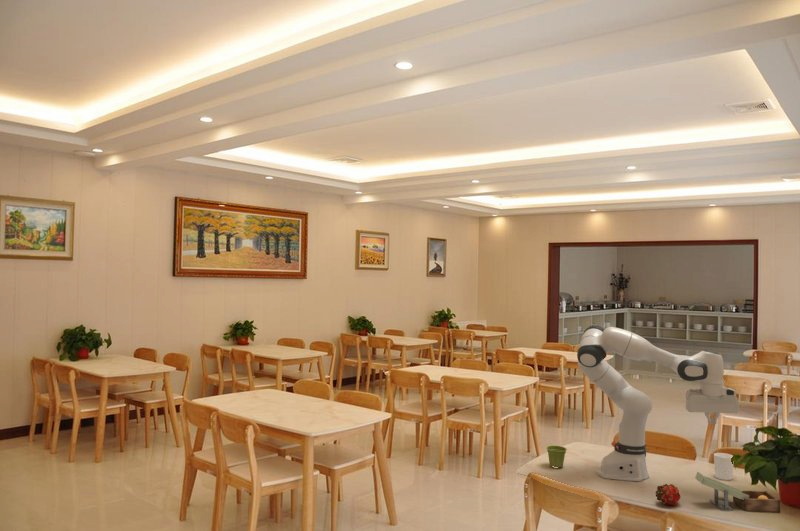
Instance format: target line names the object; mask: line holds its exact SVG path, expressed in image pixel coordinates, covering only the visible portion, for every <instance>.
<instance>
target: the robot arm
mask: <svg viewBox="0 0 800 531" xmlns="http://www.w3.org/2000/svg"><path fill="white" fill-rule="evenodd" d="M607 353H613V354H617V355H619V356H621V357H624V358H626V359H629V360H633V361H638V362H639V361H651V362H655V363H657V364H659V365H662V366H665V367H667V368H669V369H670V370H671V371H673V373H675V374H676V375H677V376H679V378H680V379H682V380H684V381H686V382H694V381H695V382H696V381H699V389H689V390H687V391H685V398H686V400H685V409H686V411H687V412H690V413H704V415H705V418H706V419H707V423H708V424H714V425H715V424H717V421H718V418H719V417H720V414H737V413H739V411H740V406H739V405H740V404H739V399H738V397H737V395H738V394H737V390H736V389H733V388H730V387H728V386H725V383H724V382H725V381H724V372H725V371H724V370H725V369H724V368H725V367H724V359H723V356H722V354H721V353H720V352H717V351H714V350H708V349H702V350H701V351H699V352H698V353H695V354H693V355H690V354H683V353H681V354H680V353H679V354H677V353H673V352H670V351H667V350H664V349H662V348H660V347H657V346H655V345H653V344H652V343H651V342H650V341H649V340H647V339H645V338H644V337H642V336H641V335H639V334H638V333H637V334H636V333H635V332H632V331H629V330H627V329H623V328H619V327H616V326H608V327H606V328H604V327H602V326H600V325H596V324H594V325H593V324H592V325H589V326H588V327H586V329H585V330H584V331H583V335H582V337H581V339H580V340H579V345H578V349H577V353H576V354H577V355H576V356H577V365H578V366H577V367H578V368H579V369H580V371H581V372H582V373H583V374H584V375H585V377H586V378H587V379H588V380H589V381H591V382H592V383H593V384H594V386H596V387H598V388H599V389H600V391H602V392H603V393H604V394H605V395H606V396H607V398H608V399H610V400H611V401H612V402H613V403H614V404H615V405H616V406H617V407H618V408H620V409H621V410H622V412H623V413H622V419H621V421H620V423H619V425H618V441H617V442H615V441H612V442H611V446H612V447H613V451H611V452H609V453H608V454H607V455H605V456H604V457H602V460H601V466H598V467H596V469H595V472H596V471H597V473H598V474H599V475H600V476H599V475H598V474H597V473H596V474H597V475H598V476H599V477H600V478H602V479H606V480H607V479H608V480H618V481H619V480H620V481H629V482H641V481H643V480H647V479H648V478H650V477H649V476H650V475H649V471H648V468H647V467H648V466H647V461H646V458H647V444H646V424H647V420H648V416H649V414H650V413H651V411H652V409H653V402H652V400H651V399H650V397H649V396H648V395H647V394H646V393H645V392H643V391H641V390H639V389H637V388H635V387H633V386H632V385H631V384H630V383H628V381H627V380H626V379H625V378H624V377H623V376H622V374H621V373H620V372H618V370H616V368H615V369H614V367H613V366H612V365H610V364H609V363H608V362H607V361H606V360H605V359H606V357H607ZM711 414H714V415H713V417H712V418H711Z"/></svg>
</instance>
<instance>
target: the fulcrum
mask: <svg viewBox="0 0 800 531" xmlns="http://www.w3.org/2000/svg"><path fill="white" fill-rule="evenodd" d="M713 491H714V495H713V496H714V498H709V501H710V502H711V503H712V504H713V505H715V507H716V508H718V509H719V510H720V511H728V512H729V511H731V512H732V511H734V509H733V508H732V507H731V506H730V505H729V494H728V491H727V490H724V492H723V500H722V499H720V498H719V490H716V489H714V488H713Z"/></svg>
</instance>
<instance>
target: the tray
mask: <svg viewBox="0 0 800 531" xmlns="http://www.w3.org/2000/svg"><path fill="white" fill-rule="evenodd" d="M741 490H742V489H741ZM742 493H744V494H746V495H749V499H746V498H744V500H742V499H739V498H737V497H734V496H732V502H733V503H734V504H736V505H737V506H739V507H740V509H742V510H743V511H745V512H760V513H761V512H763V513H764V512H765V513H767V512H768V513H781V499H779V498H777V497H775V496H774V495H773V494H771V493H770V492H768V491H767V490H742ZM761 495H764V496H766V497H767V498H768V499H758V497H759V496H761Z"/></svg>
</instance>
